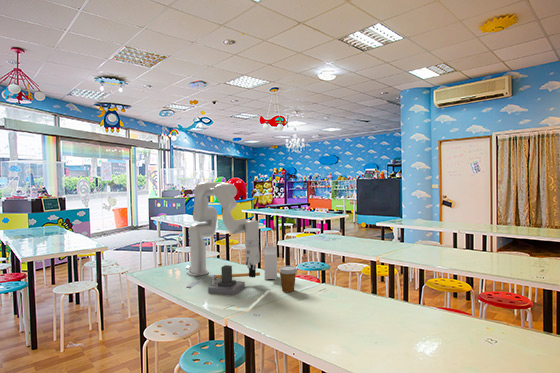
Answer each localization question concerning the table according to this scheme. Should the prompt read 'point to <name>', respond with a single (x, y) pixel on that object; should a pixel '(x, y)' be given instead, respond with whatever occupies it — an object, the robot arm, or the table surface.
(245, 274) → the orange rod with ball
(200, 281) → the mat
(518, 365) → the table surface
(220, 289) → the socket
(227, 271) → the plug
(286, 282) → the disposable coffee cup
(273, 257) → the milk carton
